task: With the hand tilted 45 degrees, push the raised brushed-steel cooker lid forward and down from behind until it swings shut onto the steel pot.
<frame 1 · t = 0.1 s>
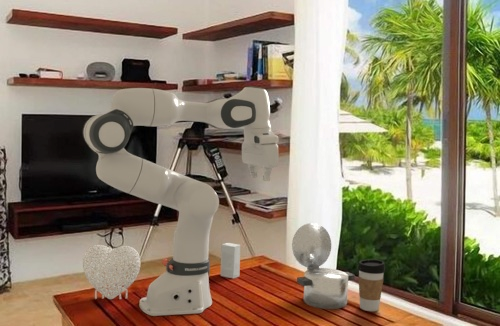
hand: (260, 179, 167), 39 cm above the table, tool pointing down, fingers open, 8 cm apart
coffee cup: (369, 308, 161), on the table
cooker lid: (311, 246, 174), point 16 cm above the table, hinge at 100.0°
cooker pot: (325, 301, 166), on the table
skincare box: (229, 276, 190), on the table
decorative heart: (111, 299, 162), on the table
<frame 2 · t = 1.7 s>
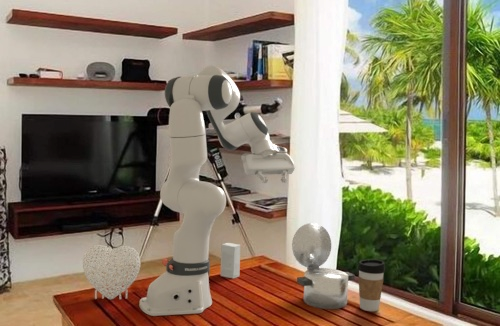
hand: (275, 181, 189), 36 cm above the table, tool tilted 45°, fingers open, 7 cm apart
nothing on the table moved.
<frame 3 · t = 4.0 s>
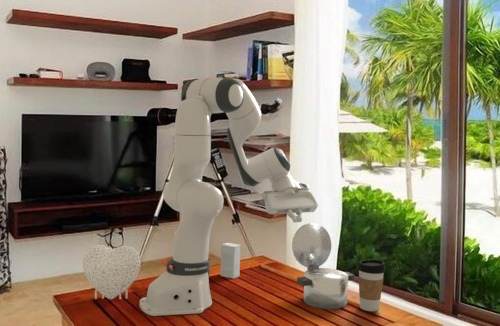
hand: (298, 221, 182), 23 cm above the table, tool tilted 45°, fingers closed
nothing on the table moved.
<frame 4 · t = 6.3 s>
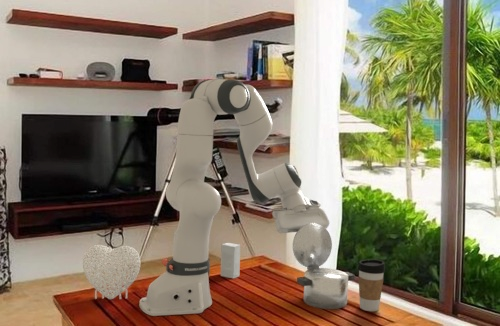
hand: (309, 240, 175), 17 cm above the table, tool tilted 45°, fingers closed, pressing on cooker lid
cooker lid: (311, 246, 174), point 16 cm above the table, hinge at 97.5°, touching gripper
everything else where it was.
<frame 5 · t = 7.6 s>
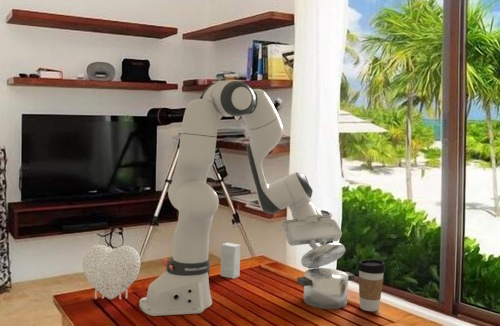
hand: (322, 252, 169), 15 cm above the table, tool tilted 45°, fingers closed, pressing on cooker lid
cooker lid: (322, 254, 168), point 15 cm above the table, hinge at 42.4°, touching gripper
everything else where it was.
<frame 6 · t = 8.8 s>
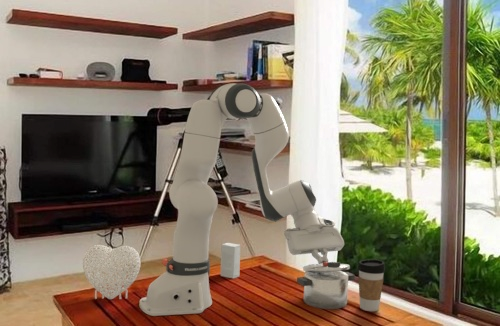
hand: (323, 262, 167), 12 cm above the table, tool tilted 45°, fingers closed
cooker lid: (325, 265, 166), point 12 cm above the table, hinge at 11.6°
everything else where it was.
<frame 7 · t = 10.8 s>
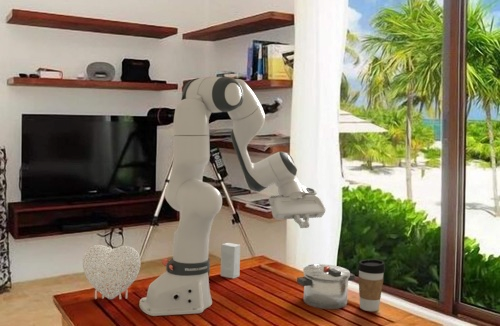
hand: (305, 227, 177), 22 cm above the table, tool tilted 45°, fingers closed
cooker lid: (326, 270, 166), point 10 cm above the table, hinge at -0.1°
everything else where it was.
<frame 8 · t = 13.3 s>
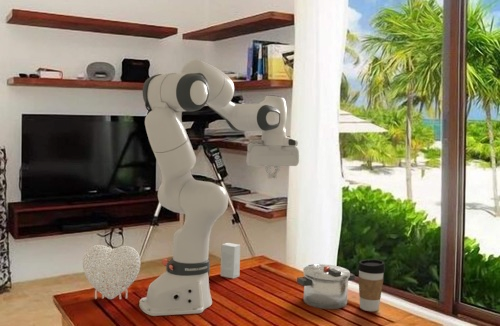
hand: (272, 178, 187), 37 cm above the table, tool pointing down, fingers closed
nothing on the table moved.
at the end: cooker lid at +0° (first picture: +100°); coffee cup moved 0.2 cm from its start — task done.
